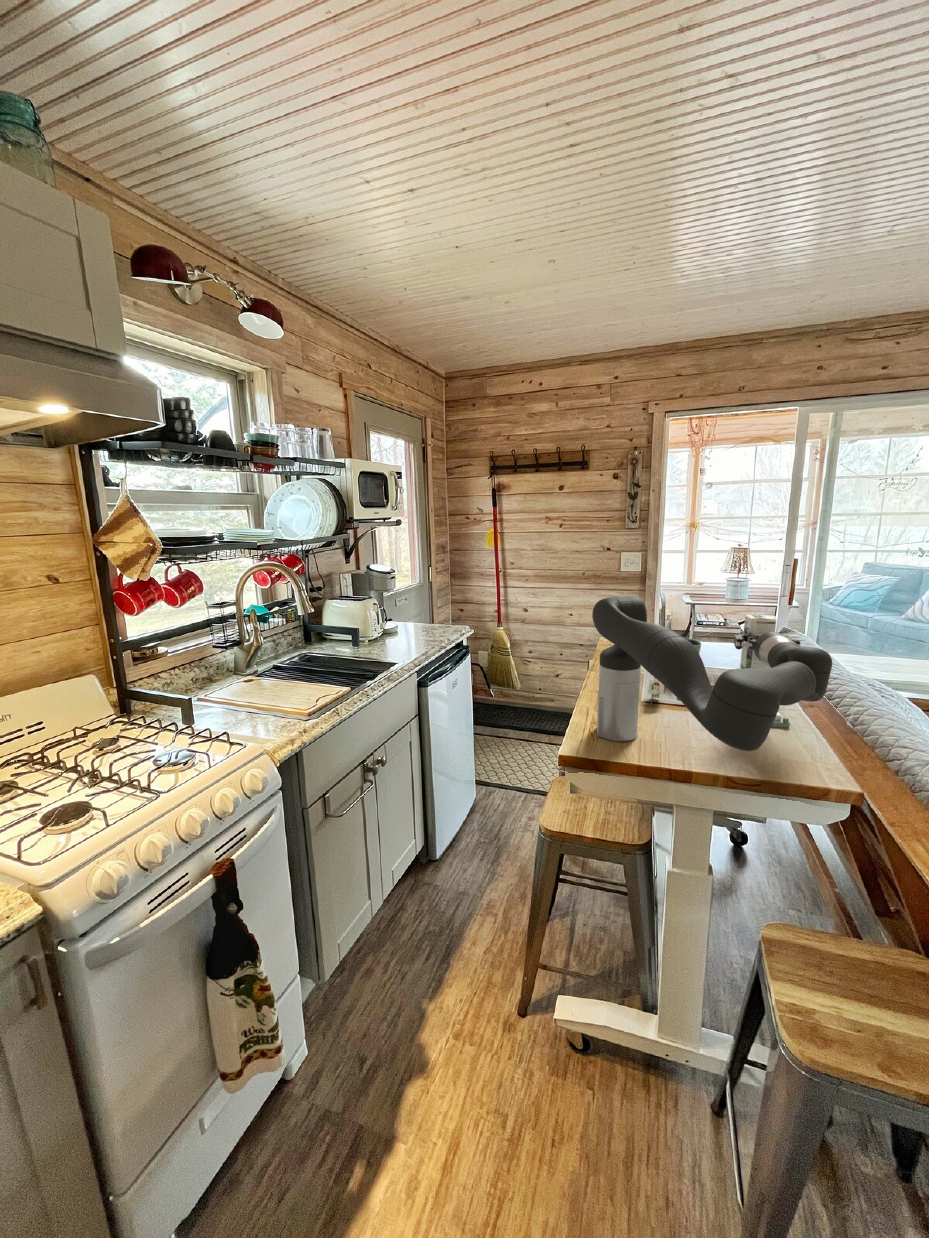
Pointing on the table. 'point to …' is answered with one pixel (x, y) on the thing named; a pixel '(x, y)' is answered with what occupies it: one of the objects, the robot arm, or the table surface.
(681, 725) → the table surface
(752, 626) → the syrup box
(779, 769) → the table surface
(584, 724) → the table surface
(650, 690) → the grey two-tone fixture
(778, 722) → the baseplate
